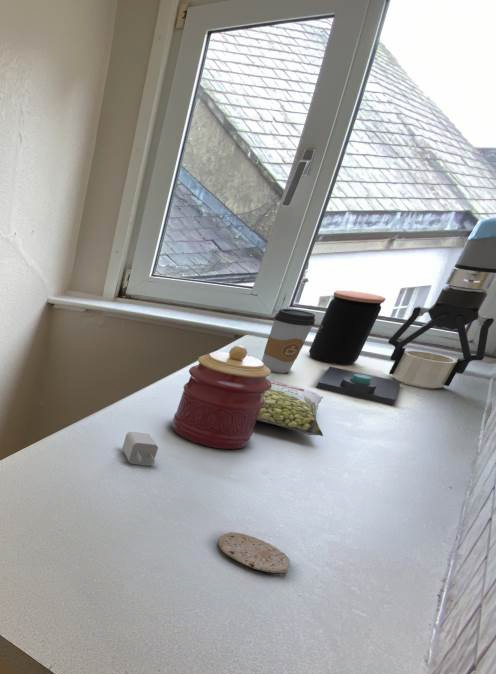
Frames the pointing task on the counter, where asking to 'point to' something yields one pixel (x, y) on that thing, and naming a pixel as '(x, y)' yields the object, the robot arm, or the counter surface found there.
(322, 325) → the coffee jar
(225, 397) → the kitchen canister
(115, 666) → the counter surface
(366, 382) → the button
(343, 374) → the scale
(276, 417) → the frozen beans
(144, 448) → the usb wall charger
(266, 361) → the coffee cup
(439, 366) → the bowl
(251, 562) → the flatbread
